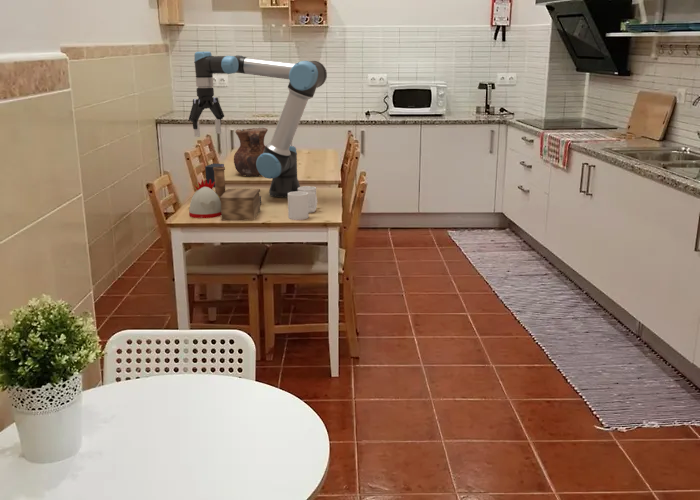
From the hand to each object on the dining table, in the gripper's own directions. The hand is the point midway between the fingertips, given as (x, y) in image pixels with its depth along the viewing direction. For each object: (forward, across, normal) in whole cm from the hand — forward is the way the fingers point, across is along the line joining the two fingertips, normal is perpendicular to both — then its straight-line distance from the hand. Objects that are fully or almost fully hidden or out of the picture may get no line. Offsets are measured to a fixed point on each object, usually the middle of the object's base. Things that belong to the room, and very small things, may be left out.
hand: (208, 135), depth 317 cm
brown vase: (+29, -56, -23) cm, 68 cm away
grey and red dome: (+29, +28, +24) cm, 47 cm away
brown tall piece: (+29, +8, +13) cm, 33 cm away
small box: (+29, -22, -19) cm, 41 cm away
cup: (+29, +12, +62) cm, 69 cm away
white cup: (+29, +2, +57) cm, 64 cm away
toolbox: (+29, +15, +33) cm, 47 cm away
